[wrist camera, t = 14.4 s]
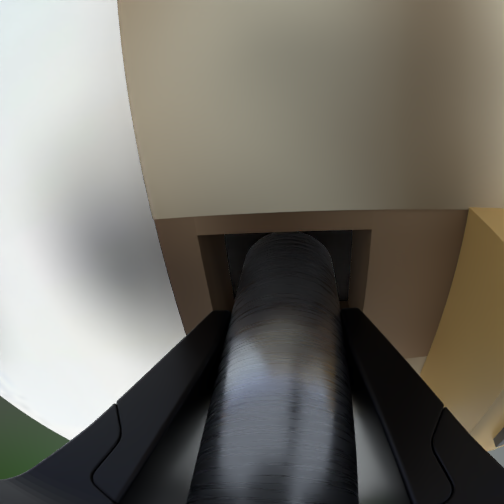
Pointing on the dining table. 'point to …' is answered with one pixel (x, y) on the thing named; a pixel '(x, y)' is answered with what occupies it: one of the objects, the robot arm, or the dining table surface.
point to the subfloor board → (319, 139)
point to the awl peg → (281, 387)
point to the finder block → (474, 333)
